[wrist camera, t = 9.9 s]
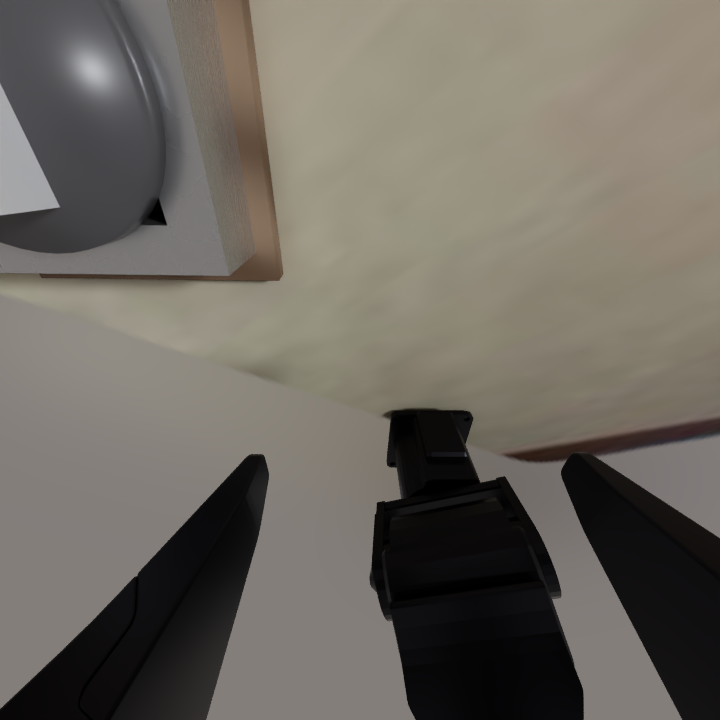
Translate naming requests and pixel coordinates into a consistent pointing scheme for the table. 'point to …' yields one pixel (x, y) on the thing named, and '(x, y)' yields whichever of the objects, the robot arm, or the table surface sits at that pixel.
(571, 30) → the table surface
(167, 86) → the hollow square frame
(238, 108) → the walnut plate
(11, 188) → the grey disc with handle
